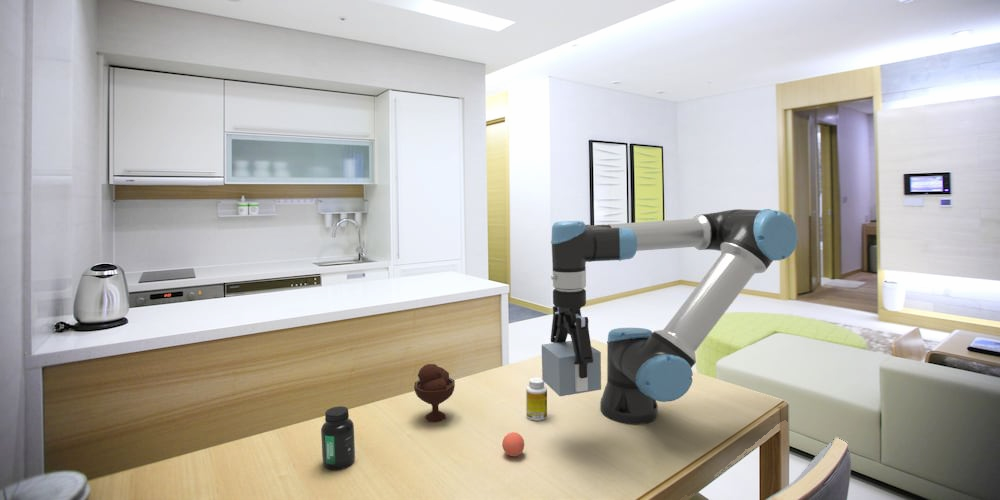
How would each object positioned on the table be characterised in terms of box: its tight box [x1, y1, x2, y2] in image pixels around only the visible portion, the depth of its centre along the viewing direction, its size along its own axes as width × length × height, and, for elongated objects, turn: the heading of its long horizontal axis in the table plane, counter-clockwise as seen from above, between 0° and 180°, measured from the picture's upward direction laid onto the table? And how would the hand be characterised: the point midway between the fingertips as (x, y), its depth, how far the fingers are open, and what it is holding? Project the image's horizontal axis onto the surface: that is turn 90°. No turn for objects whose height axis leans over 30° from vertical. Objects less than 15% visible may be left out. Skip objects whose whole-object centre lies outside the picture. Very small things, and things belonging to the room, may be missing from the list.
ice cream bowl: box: [413, 363, 456, 423], centre depth 124 cm, size 11×11×15 cm
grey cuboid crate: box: [541, 340, 602, 397], centre depth 109 cm, size 10×10×9 cm
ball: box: [501, 432, 525, 457], centre depth 106 cm, size 5×5×5 cm
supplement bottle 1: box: [320, 405, 356, 471], centre depth 103 cm, size 7×7×12 cm
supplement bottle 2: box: [525, 377, 548, 422], centre depth 124 cm, size 6×6×10 cm
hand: (570, 381), depth 109 cm, fingers closed on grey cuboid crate, 10 cm apart
